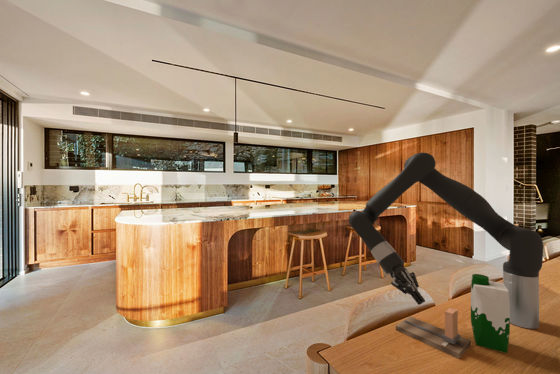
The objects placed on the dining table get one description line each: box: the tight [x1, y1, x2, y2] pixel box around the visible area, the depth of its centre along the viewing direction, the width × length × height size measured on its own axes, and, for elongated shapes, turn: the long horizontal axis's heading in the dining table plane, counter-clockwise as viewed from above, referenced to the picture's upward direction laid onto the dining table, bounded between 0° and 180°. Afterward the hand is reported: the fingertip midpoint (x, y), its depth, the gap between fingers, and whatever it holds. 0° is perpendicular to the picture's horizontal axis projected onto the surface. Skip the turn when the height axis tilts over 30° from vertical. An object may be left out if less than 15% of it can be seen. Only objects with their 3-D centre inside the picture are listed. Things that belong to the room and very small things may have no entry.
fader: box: [442, 307, 461, 344], centre depth 76 cm, size 3×5×8 cm, turn 127°
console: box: [395, 316, 472, 359], centre depth 81 cm, size 18×10×2 cm, turn 37°
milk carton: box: [470, 273, 511, 354], centre depth 78 cm, size 9×9×20 cm
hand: (422, 303), depth 83 cm, fingers closed
